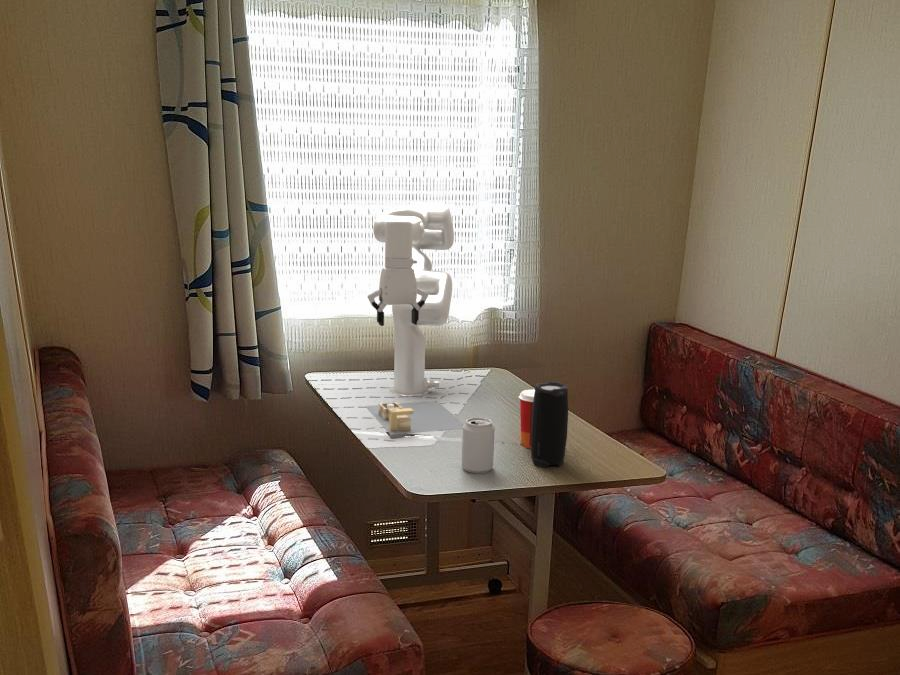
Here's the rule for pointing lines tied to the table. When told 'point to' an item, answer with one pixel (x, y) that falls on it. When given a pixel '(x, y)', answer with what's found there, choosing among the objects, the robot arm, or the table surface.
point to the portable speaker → (549, 424)
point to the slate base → (418, 418)
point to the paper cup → (526, 416)
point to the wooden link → (402, 420)
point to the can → (478, 445)
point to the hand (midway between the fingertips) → (397, 324)
